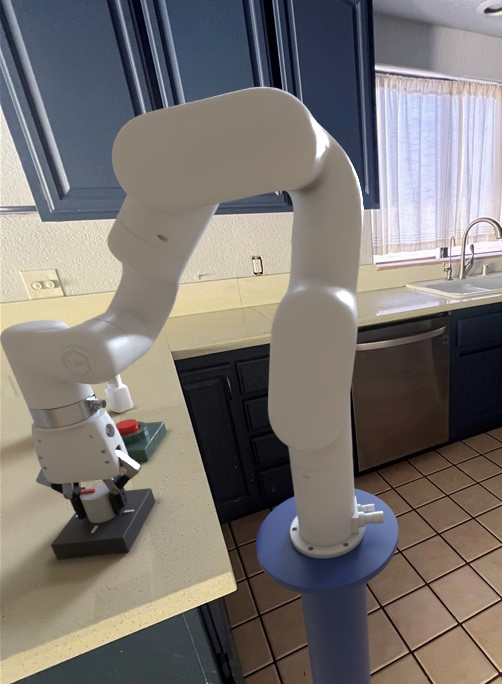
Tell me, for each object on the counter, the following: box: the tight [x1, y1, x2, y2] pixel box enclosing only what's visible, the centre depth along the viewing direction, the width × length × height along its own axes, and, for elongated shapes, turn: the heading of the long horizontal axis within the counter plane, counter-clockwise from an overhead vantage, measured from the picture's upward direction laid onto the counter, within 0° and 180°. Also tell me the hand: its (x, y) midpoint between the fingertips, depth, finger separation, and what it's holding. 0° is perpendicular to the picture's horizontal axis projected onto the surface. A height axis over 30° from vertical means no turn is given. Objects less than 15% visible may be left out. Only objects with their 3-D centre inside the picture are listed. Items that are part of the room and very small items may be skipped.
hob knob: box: [80, 482, 116, 523], centre depth 67 cm, size 4×4×5 cm
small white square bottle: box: [104, 374, 134, 414], centre depth 106 cm, size 4×4×10 cm
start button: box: [115, 418, 139, 435], centre depth 90 cm, size 4×4×2 cm
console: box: [120, 420, 167, 463], centre depth 91 cm, size 10×12×4 cm
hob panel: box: [50, 487, 156, 561], centre depth 69 cm, size 10×12×3 cm
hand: (103, 510), depth 68 cm, fingers closed on hob knob, 4 cm apart
